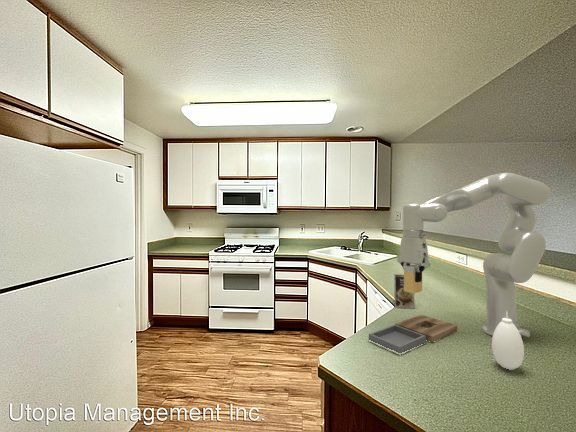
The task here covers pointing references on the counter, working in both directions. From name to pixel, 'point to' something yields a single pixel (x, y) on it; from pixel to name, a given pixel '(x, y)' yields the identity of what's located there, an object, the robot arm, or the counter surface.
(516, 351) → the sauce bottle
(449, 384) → the counter surface
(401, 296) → the coffee box
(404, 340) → the parts tray
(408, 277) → the block
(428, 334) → the wooden plate with hole
